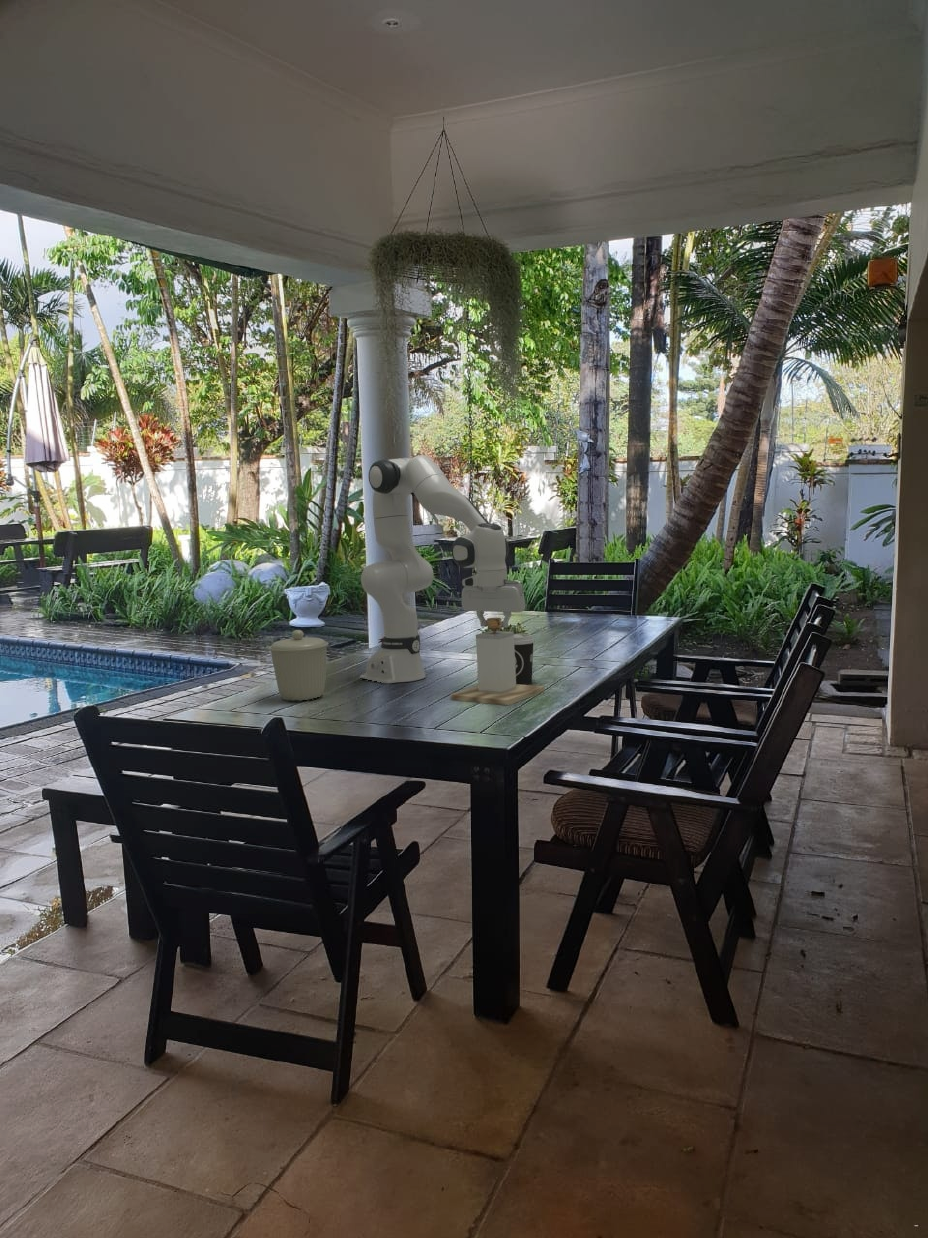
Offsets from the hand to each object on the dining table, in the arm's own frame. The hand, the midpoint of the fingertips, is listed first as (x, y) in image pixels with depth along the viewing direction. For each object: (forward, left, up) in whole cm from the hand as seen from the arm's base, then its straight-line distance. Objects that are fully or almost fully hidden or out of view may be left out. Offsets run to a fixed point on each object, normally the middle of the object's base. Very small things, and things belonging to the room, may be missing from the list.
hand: (494, 626), depth 285 cm
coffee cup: (-3, +18, -21) cm, 28 cm away
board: (0, 0, -20) cm, 20 cm away
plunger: (0, 0, -18) cm, 18 cm away
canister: (-55, -25, -21) cm, 64 cm away
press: (0, +1, -19) cm, 19 cm away
